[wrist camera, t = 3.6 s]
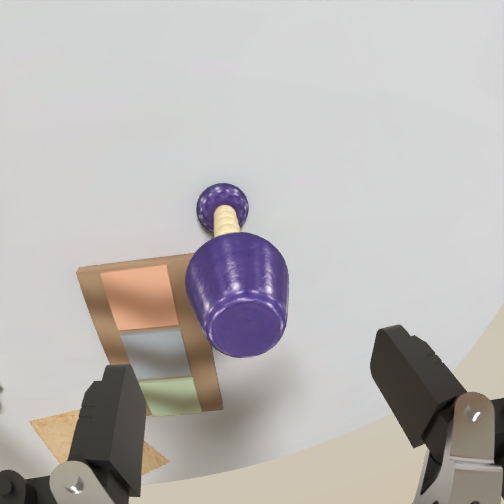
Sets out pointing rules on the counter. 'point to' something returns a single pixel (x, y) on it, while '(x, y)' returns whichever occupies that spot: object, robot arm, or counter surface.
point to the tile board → (153, 332)
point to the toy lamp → (236, 279)
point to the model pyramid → (61, 434)
